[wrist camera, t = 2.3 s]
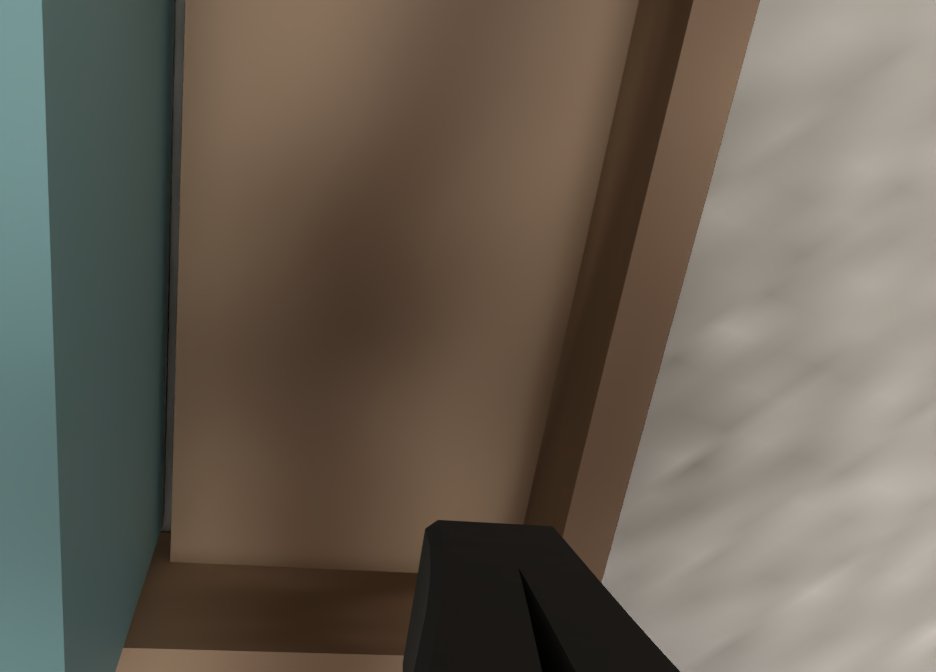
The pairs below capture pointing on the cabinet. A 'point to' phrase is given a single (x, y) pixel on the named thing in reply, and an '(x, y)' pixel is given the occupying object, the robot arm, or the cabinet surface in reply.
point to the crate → (415, 298)
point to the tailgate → (81, 322)
